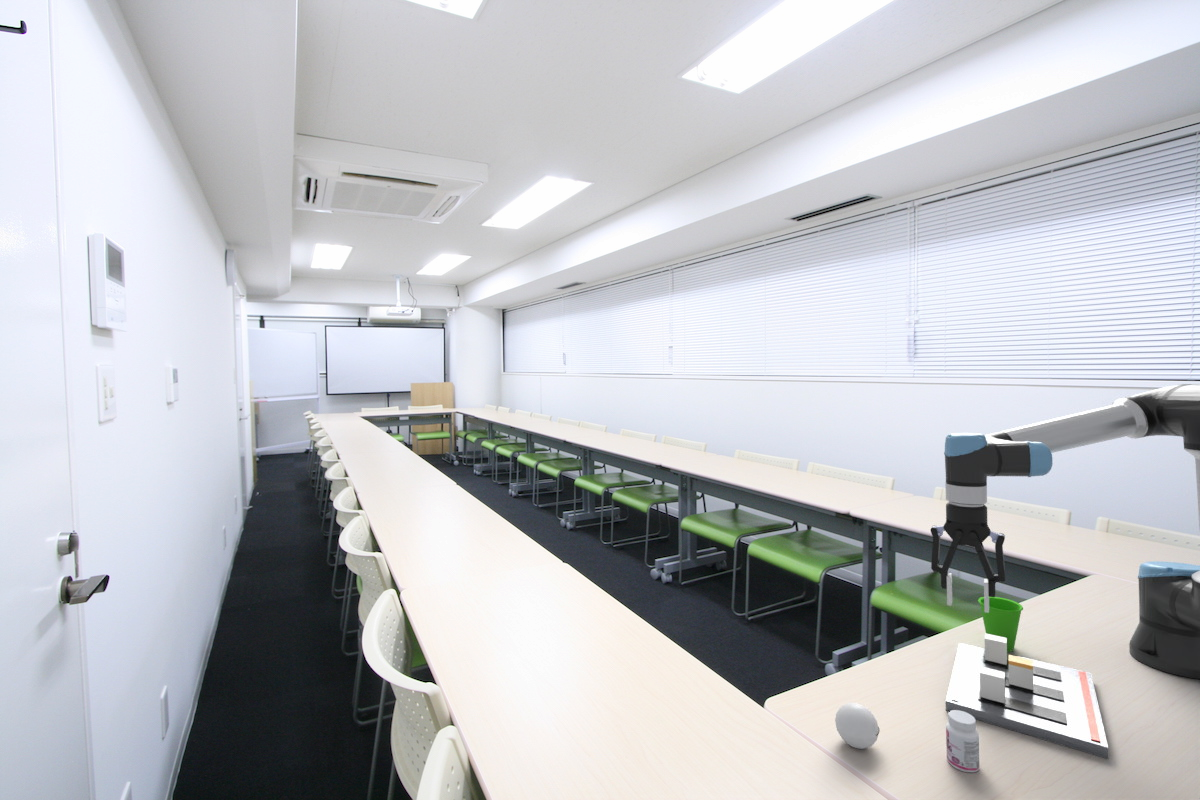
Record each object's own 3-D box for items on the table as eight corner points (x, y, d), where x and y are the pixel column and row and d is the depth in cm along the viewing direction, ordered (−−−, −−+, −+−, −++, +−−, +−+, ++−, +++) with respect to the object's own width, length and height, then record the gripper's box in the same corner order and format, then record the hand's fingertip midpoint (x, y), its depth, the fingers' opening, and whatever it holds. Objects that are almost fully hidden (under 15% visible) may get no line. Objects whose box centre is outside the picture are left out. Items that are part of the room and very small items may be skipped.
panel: (1090, 681, 116) (1090, 671, 116) (1108, 758, 93) (1108, 746, 93) (959, 650, 131) (959, 641, 131) (945, 710, 108) (945, 699, 108)
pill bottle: (940, 755, 95) (939, 709, 95) (964, 753, 95) (964, 707, 95) (960, 774, 90) (959, 726, 90) (986, 772, 91) (985, 723, 90)
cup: (1032, 657, 127) (1031, 611, 127) (989, 654, 129) (989, 609, 129) (1011, 639, 136) (1010, 597, 136) (971, 637, 138) (970, 595, 138)
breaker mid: (1033, 683, 112) (1032, 660, 112) (1033, 690, 110) (1032, 666, 109) (1009, 677, 114) (1008, 654, 114) (1008, 683, 112) (1008, 660, 112)
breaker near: (1005, 696, 108) (1004, 672, 108) (1004, 703, 105) (1004, 678, 105) (981, 689, 110) (980, 666, 110) (980, 696, 108) (979, 672, 108)
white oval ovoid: (878, 763, 93) (877, 722, 93) (832, 749, 97) (831, 710, 97) (882, 731, 102) (881, 694, 102) (840, 720, 106) (839, 683, 106)
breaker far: (1007, 659, 122) (1006, 637, 122) (1006, 664, 119) (1006, 643, 119) (985, 654, 124) (985, 633, 124) (984, 659, 122) (984, 638, 122)
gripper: (1021, 504, 114) (1022, 611, 114) (918, 495, 126) (920, 592, 126) (1021, 511, 108) (1023, 623, 108) (913, 501, 120) (915, 602, 120)
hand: (968, 606), depth 117 cm, fingers open, 6 cm apart
